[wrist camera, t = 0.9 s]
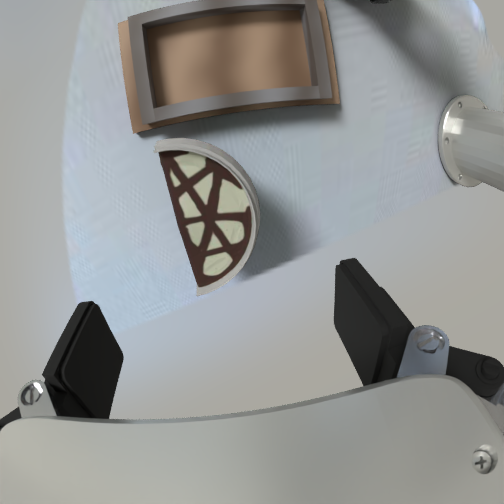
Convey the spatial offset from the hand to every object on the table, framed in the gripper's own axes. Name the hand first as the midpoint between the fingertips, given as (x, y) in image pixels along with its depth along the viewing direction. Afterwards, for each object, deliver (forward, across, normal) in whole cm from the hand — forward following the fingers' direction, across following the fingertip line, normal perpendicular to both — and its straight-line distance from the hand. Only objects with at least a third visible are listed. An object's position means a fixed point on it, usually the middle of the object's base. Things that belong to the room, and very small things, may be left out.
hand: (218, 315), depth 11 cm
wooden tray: (+20, -3, -13) cm, 24 cm away
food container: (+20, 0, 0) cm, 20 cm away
